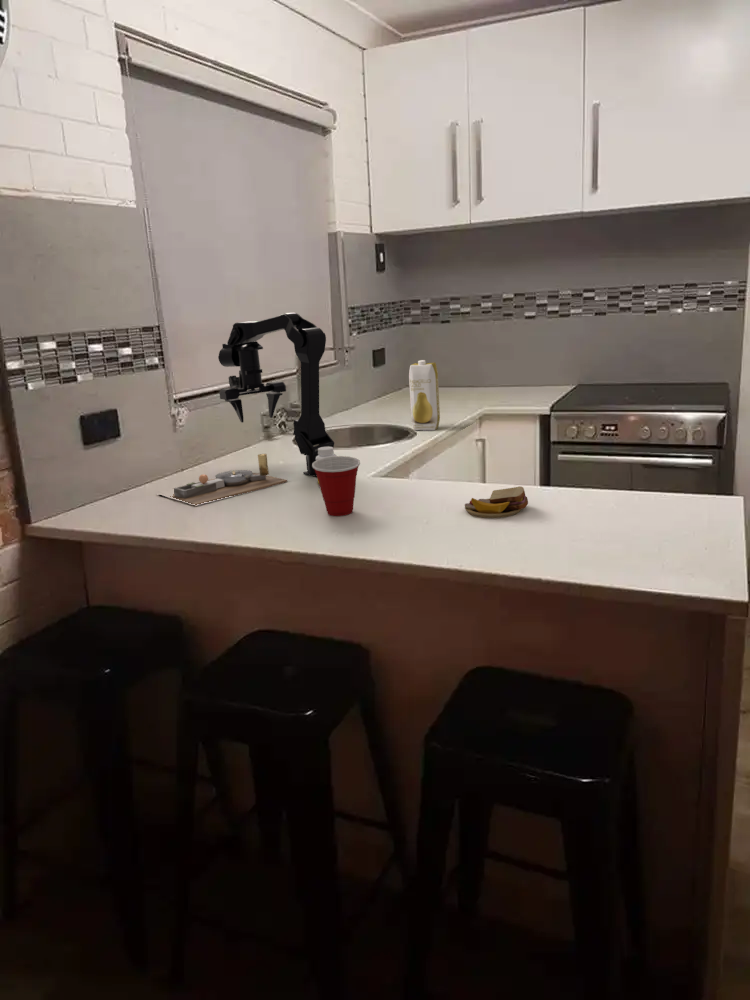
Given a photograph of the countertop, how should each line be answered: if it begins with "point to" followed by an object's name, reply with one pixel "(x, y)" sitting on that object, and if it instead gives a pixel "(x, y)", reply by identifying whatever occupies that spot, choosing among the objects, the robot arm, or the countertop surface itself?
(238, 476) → the wheel
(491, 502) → the toy sandwich meal
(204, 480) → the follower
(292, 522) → the countertop surface
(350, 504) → the plastic cup
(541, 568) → the countertop surface
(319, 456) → the supplement bottle
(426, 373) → the juice carton
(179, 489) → the wooden base board
